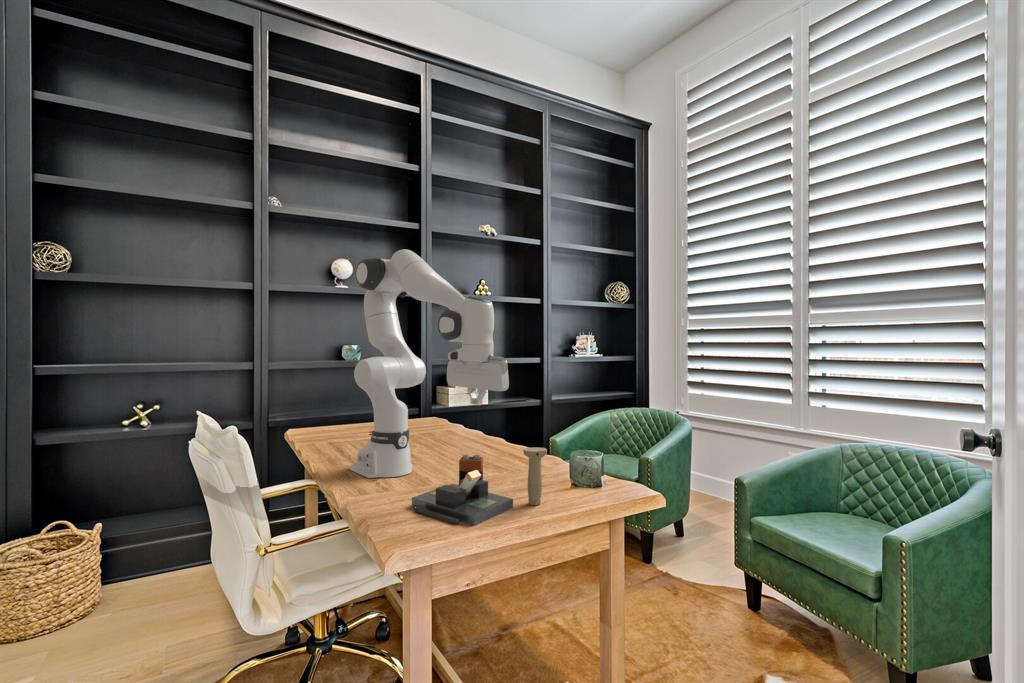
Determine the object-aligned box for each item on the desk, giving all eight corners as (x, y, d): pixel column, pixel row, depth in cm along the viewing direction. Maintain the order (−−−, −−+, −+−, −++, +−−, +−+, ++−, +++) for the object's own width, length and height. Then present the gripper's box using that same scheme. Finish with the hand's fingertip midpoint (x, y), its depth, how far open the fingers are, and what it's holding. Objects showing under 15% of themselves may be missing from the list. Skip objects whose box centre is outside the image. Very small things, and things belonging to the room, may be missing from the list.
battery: (481, 490, 146) (481, 457, 146) (458, 490, 147) (458, 456, 147) (483, 486, 151) (483, 453, 150) (461, 485, 151) (461, 453, 151)
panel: (411, 506, 132) (411, 484, 132) (452, 491, 145) (452, 471, 145) (474, 525, 119) (474, 500, 119) (513, 507, 132) (513, 485, 132)
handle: (548, 506, 133) (548, 450, 133) (525, 507, 132) (525, 451, 132) (543, 500, 138) (543, 447, 138) (521, 501, 137) (521, 447, 137)
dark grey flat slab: (413, 512, 128) (413, 507, 128) (465, 492, 145) (465, 488, 145) (456, 525, 119) (456, 520, 119) (507, 502, 136) (507, 498, 136)
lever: (452, 493, 131) (466, 472, 128) (463, 489, 135) (477, 468, 132) (457, 500, 130) (471, 479, 127) (468, 496, 134) (482, 475, 131)
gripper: (514, 356, 133) (513, 407, 133) (458, 352, 145) (457, 399, 145) (499, 357, 128) (498, 410, 128) (443, 353, 140) (442, 401, 140)
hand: (476, 404), depth 137 cm, fingers closed
